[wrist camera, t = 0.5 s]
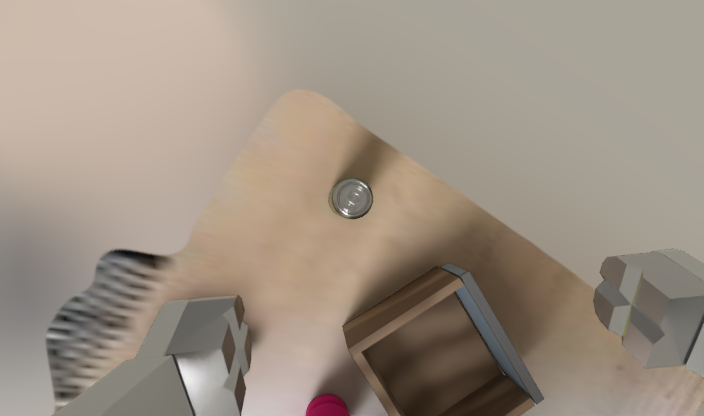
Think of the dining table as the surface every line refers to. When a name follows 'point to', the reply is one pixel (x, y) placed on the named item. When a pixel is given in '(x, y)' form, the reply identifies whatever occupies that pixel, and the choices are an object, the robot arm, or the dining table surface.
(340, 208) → the soda can
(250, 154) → the dining table surface
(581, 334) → the dining table surface
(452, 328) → the box
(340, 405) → the pepper mill
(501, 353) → the panel
